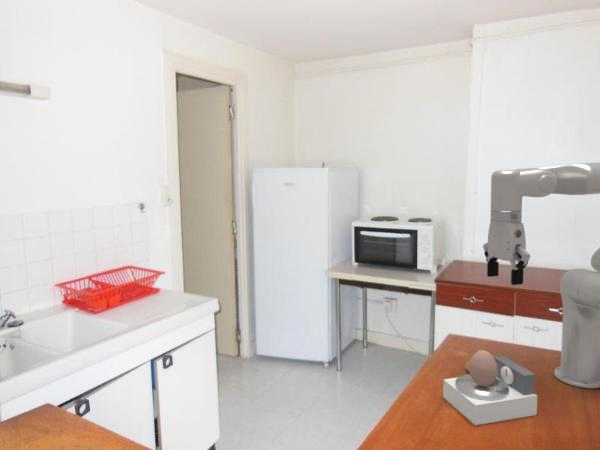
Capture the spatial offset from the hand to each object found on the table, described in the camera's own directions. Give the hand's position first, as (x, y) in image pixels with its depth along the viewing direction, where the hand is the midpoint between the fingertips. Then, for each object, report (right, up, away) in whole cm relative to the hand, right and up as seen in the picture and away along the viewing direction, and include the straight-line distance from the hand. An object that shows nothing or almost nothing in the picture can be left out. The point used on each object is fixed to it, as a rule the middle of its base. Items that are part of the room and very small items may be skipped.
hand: (504, 280), depth 122 cm
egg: (-9, -26, -8) cm, 28 cm away
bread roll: (-1, -29, +13) cm, 32 cm away
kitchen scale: (-7, -31, -6) cm, 33 cm away
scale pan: (-9, -26, -8) cm, 29 cm away
